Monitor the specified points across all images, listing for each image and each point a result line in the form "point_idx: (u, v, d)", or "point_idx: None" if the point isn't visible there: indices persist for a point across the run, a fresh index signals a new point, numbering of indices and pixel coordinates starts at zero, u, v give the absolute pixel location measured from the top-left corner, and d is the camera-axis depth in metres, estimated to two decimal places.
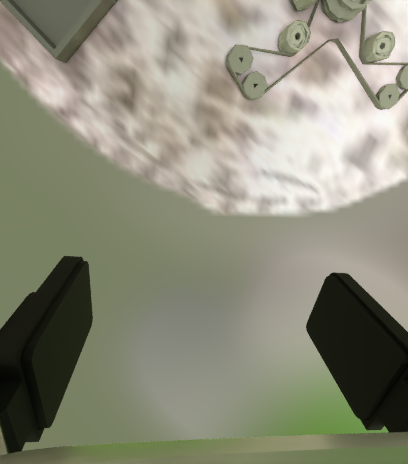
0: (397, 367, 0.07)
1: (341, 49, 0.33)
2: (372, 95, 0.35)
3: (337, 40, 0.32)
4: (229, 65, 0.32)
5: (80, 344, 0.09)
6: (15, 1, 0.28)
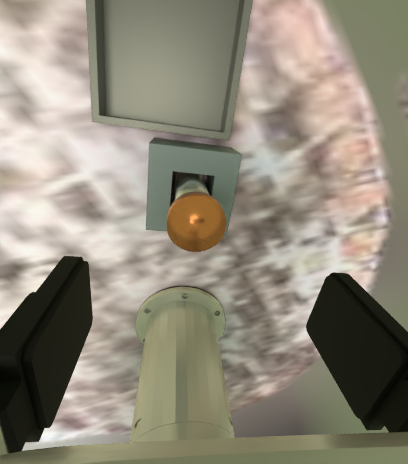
0: (397, 367, 0.07)
1: None
2: None
3: None
4: None
5: (80, 344, 0.09)
6: None
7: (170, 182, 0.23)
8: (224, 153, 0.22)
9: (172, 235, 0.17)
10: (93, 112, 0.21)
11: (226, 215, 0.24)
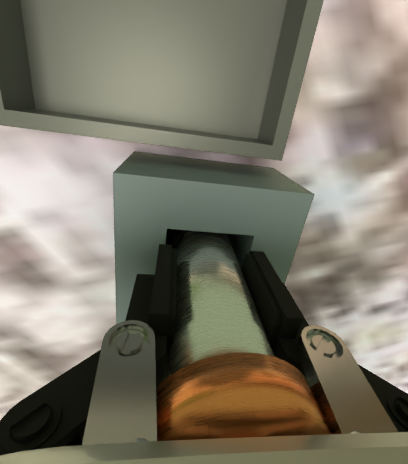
0: (273, 327, 0.07)
1: None
2: None
3: None
4: None
5: None
6: None
7: None
8: (278, 192, 0.10)
9: None
10: None
11: None
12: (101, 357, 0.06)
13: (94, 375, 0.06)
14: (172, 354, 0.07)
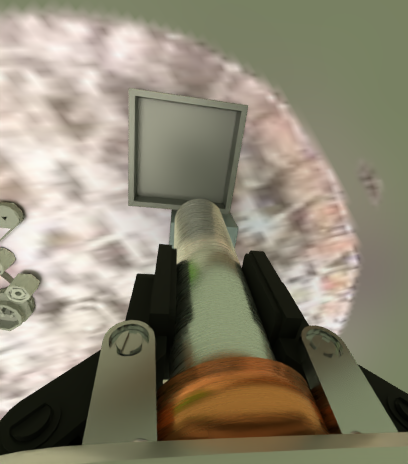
0: (273, 327, 0.07)
1: None
2: None
3: None
4: (6, 205, 0.30)
5: None
6: (194, 106, 0.28)
7: None
8: None
9: None
10: (129, 199, 0.29)
11: None
12: (101, 357, 0.06)
13: (94, 375, 0.06)
14: (172, 355, 0.07)
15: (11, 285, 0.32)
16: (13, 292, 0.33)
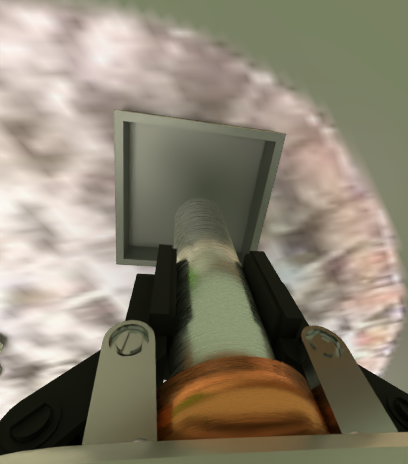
0: (273, 327, 0.07)
1: None
2: None
3: None
4: None
5: None
6: (207, 132, 0.20)
7: None
8: None
9: None
10: (118, 256, 0.22)
11: None
12: (101, 357, 0.06)
13: (94, 375, 0.06)
14: (172, 355, 0.07)
15: None
16: None
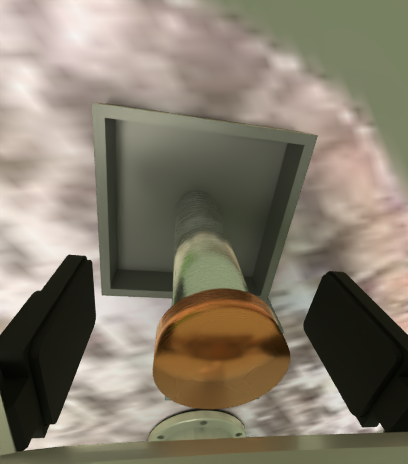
0: (391, 364, 0.07)
1: None
2: None
3: None
4: None
5: (84, 342, 0.09)
6: None
7: None
8: None
9: (167, 388, 0.07)
10: (103, 286, 0.17)
11: None
12: None
13: None
14: (174, 300, 0.09)
15: None
16: None
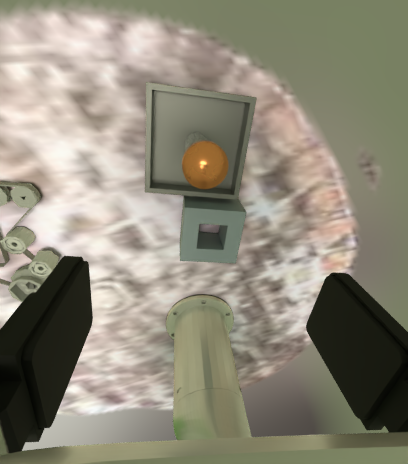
0: (397, 367, 0.07)
1: None
2: None
3: (3, 265, 0.38)
4: (24, 186, 0.32)
5: (80, 344, 0.09)
6: (205, 98, 0.30)
7: (197, 230, 0.33)
8: (234, 211, 0.32)
9: (186, 175, 0.22)
10: (146, 186, 0.32)
11: (235, 250, 0.35)
12: None
13: None
14: None
15: (34, 260, 0.35)
16: (36, 267, 0.35)
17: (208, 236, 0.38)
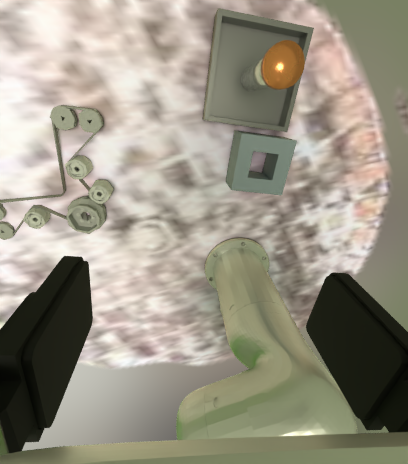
0: (397, 367, 0.07)
1: (53, 195, 0.40)
2: (1, 201, 0.39)
3: (60, 195, 0.40)
4: (91, 109, 0.35)
5: (80, 344, 0.09)
6: (264, 32, 0.33)
7: (251, 158, 0.36)
8: (286, 139, 0.35)
9: (267, 73, 0.25)
10: (206, 114, 0.35)
11: (283, 180, 0.38)
12: None
13: None
14: None
15: (94, 185, 0.37)
16: (95, 193, 0.38)
17: (254, 173, 0.41)
